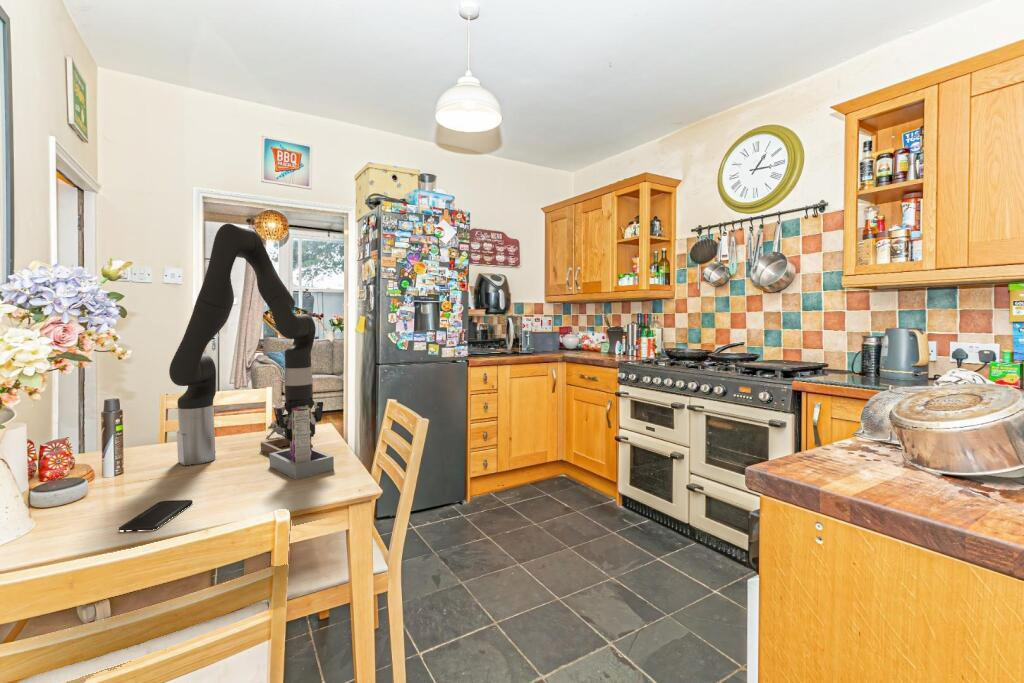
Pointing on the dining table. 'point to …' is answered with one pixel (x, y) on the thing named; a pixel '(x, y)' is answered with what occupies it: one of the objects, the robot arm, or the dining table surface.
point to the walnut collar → (274, 445)
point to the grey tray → (301, 464)
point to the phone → (156, 515)
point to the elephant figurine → (276, 429)
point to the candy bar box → (301, 435)
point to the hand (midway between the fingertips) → (300, 438)
